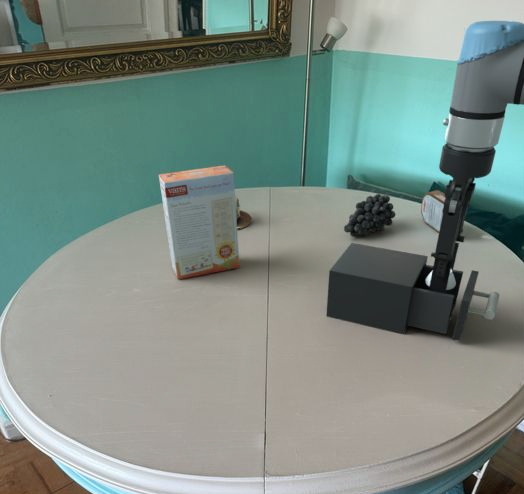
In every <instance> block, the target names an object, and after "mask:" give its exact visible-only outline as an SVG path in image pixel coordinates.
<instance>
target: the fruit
mask: <svg viewBox="0 0 524 494" xmlns="http://www.w3.org/2000/svg"><path fill="white" fill-rule="evenodd" d="M390 201H391V197H390V195H388V194H382V195H381V194H380V193H376V194H374V195H373V196H372V195H369V196H367V197H366V198H365V200H362V201H360V202H356V204H355V211H354V213H352V214H350V215H349V217H348V219H349V220H348V222H347V224H346V225H344V227H343V231H344V232H345V233H347V234H348V233H349V236H351V237H352V238H356V237H358V235H359V234H360V233H362V234H363V235H365V236H368V235H369V234H370V233H371V232H372V233H374V232H376V231H379V232H382V231H384V230H385V226H386V227H390V226H392V224H393V219H394V218H395V217H396V212H395V211H394V204H393V203H391V202H390Z"/></svg>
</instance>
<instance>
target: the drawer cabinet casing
mask: <svg viewBox="0 0 524 494" xmlns="http://www.w3.org/2000/svg"><path fill="white" fill-rule="evenodd" d="M428 259H429V257H428V255H424V254H418V253H412V252H407V251H402V250H395V249H390V248H383V247H378V246H373V245H367V244H361V243H357V242H351V243H350V244H349V245H348V246H347V248H346V249H345V250H344V251H343V253H342V254H341V256H339V258H338V259H337V260H336V261H335V263H334V264H333V265H332V267H331V268H330V269H329V271H328V287H327V300H326V317H329V318H333V319H337V320H341V321H346V322H350V323H354V324H358V325H363V326H366V327H371V328H375V329H378V330H383V331H387V332H388V331H389V332H392V333H395V334H401V335H405V334H406V331H407V329H408V327H409V325H406V324H407V318H408V313H409V307H410V301H411V296H412V290H413V287H414V285H415V283H416V281H417V279H418V277H419V275H420V273H421V271H422V269H423V267H424V265H428Z"/></svg>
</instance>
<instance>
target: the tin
mask: <svg viewBox="0 0 524 494" xmlns="http://www.w3.org/2000/svg"><path fill="white" fill-rule="evenodd" d="M444 201H445V193H444V192H442V191H440V190H438V189H437V190H433V191H429V192H426V193H425V194H423V196H422V198H421V206H420V212H421V214H420V215H421V217H422V219H423V222H424V223H425V224H426V225H428V226H429V227H430V228H431V229H432V230H434V231H435V232H437V233H438V234H439V231H440V226H441V221H442V216H443V212H442V211H443V207H444Z"/></svg>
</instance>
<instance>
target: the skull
mask: <svg viewBox="0 0 524 494" xmlns="http://www.w3.org/2000/svg"><path fill="white" fill-rule="evenodd" d="M235 203H236V219H237V227H240V229H243V228H246V227H247V226H249V225H250V224H251V223H252V220H253V219H252V216H251V214H250V213H248V212H247V211H244V210H240V207H241V203H240V200H239V198H238V196H237V195H235Z"/></svg>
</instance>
